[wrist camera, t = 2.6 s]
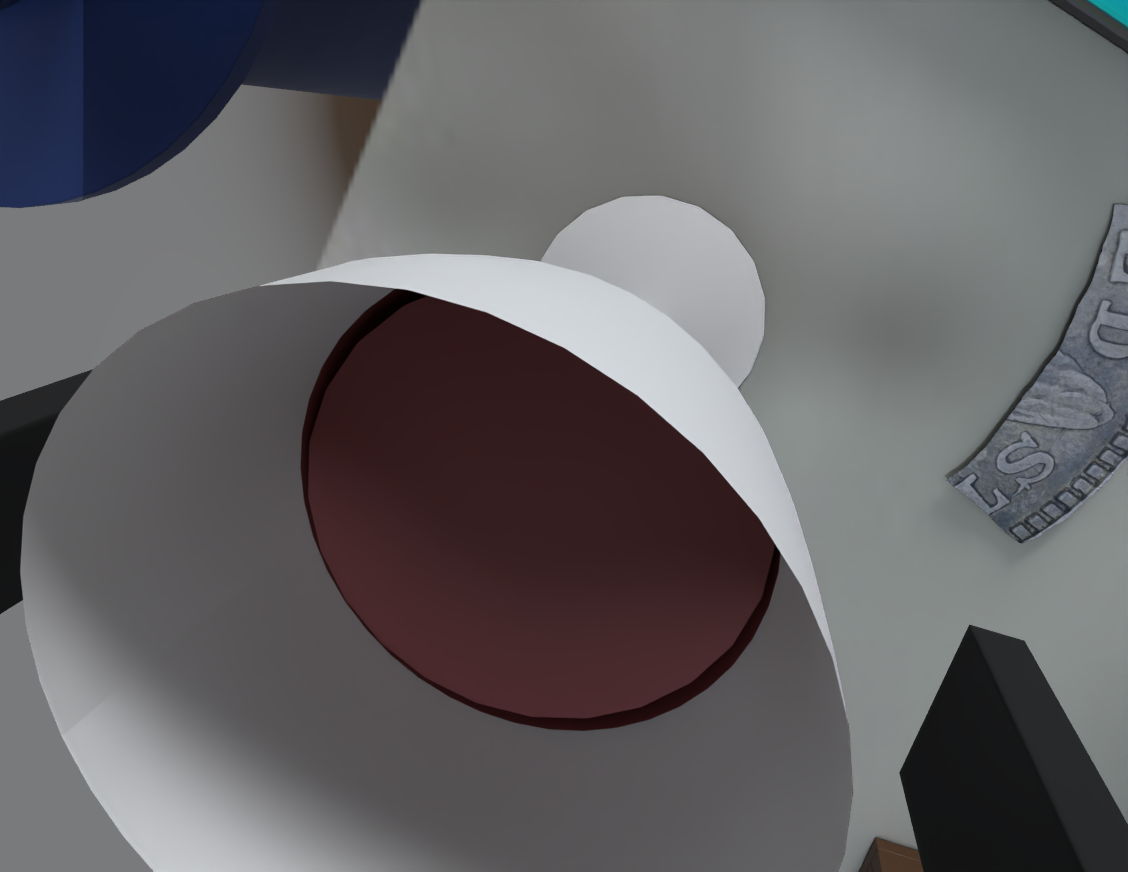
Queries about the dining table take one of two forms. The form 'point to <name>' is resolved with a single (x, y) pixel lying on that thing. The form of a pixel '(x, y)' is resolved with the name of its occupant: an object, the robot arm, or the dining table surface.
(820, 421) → the dining table surface
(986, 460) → the coin fragment
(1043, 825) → the robot arm
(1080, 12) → the smartphone
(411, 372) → the wineglass
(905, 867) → the tray
